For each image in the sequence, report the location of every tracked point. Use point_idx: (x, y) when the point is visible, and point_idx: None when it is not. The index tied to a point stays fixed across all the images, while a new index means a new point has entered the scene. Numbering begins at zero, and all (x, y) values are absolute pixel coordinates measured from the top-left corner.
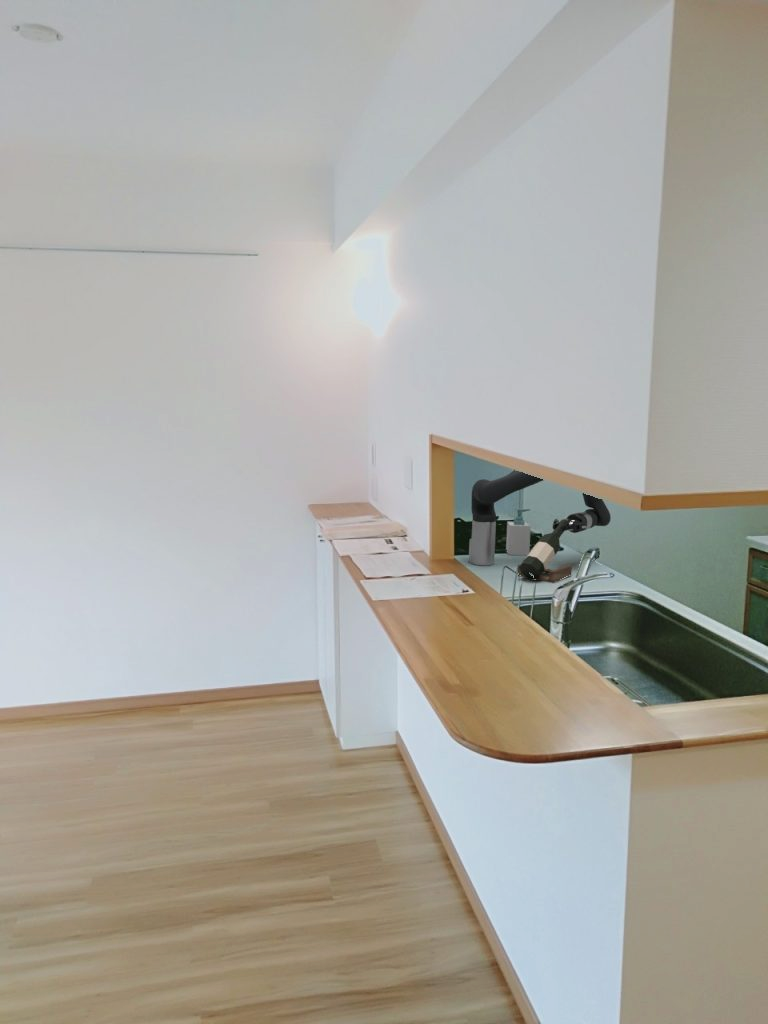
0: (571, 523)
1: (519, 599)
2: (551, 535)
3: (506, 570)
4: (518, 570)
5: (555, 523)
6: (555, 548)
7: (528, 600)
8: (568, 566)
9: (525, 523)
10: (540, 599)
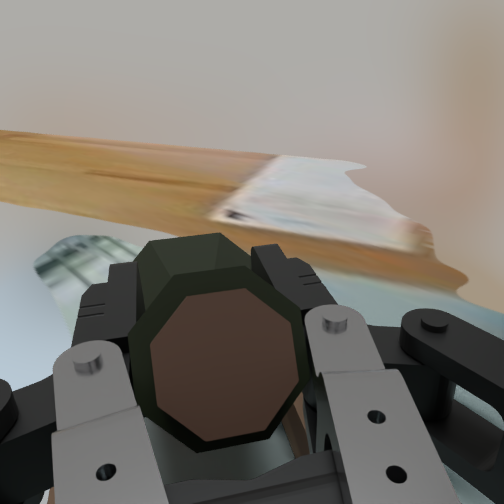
0: (79, 420)
1: (91, 243)
2: (158, 243)
3: None
4: None
5: (284, 262)
6: None
7: (67, 249)
8: (53, 498)
9: None
10: (41, 266)
